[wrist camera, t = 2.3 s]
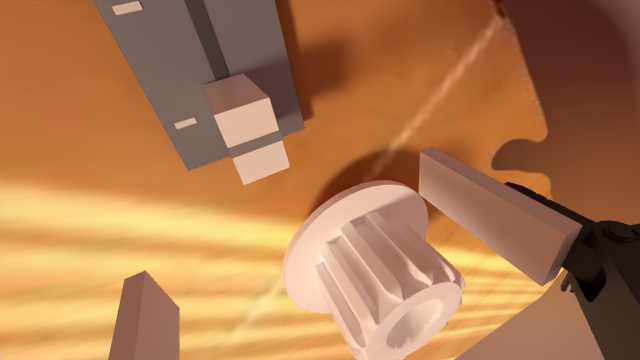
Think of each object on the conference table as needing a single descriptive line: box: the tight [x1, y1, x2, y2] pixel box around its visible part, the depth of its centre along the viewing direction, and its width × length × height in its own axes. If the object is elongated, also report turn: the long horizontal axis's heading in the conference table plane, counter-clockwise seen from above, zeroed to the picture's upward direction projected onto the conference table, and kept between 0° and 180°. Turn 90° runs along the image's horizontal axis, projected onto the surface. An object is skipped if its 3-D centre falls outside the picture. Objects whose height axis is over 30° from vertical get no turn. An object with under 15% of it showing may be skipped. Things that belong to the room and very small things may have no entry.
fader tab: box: [203, 73, 290, 185], centre depth 25 cm, size 4×6×10 cm
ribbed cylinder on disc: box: [282, 180, 465, 360], centre depth 40 cm, size 25×25×19 cm
